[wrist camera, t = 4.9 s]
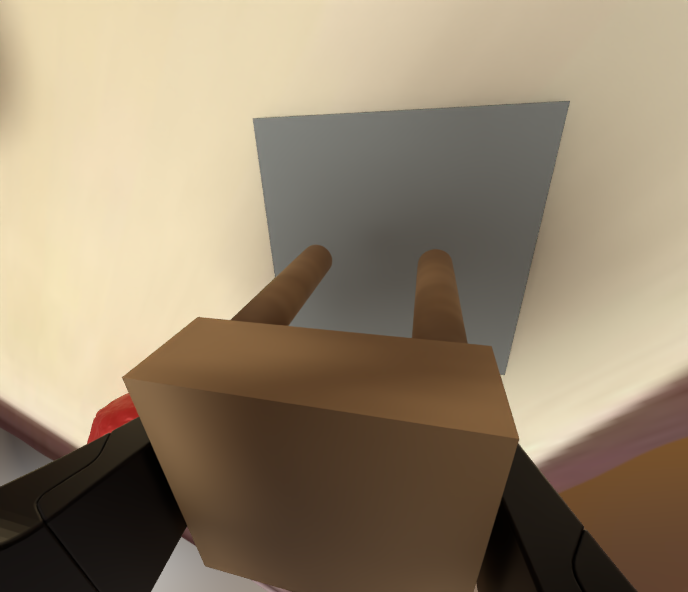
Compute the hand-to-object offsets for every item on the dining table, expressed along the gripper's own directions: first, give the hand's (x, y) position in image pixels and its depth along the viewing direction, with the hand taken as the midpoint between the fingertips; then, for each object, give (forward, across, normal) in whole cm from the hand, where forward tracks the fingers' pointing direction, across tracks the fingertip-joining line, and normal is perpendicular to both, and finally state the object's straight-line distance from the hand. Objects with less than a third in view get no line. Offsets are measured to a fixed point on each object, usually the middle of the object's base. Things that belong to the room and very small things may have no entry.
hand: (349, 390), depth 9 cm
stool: (+4, 0, 0) cm, 5 cm away
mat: (+12, 0, 0) cm, 12 cm away
